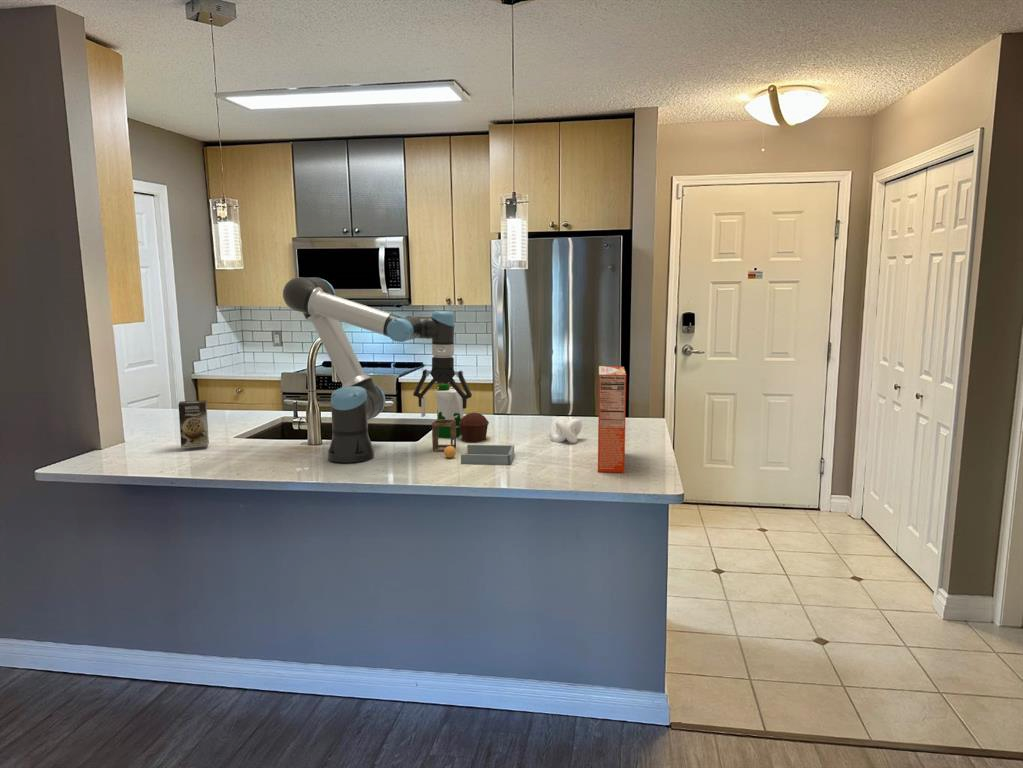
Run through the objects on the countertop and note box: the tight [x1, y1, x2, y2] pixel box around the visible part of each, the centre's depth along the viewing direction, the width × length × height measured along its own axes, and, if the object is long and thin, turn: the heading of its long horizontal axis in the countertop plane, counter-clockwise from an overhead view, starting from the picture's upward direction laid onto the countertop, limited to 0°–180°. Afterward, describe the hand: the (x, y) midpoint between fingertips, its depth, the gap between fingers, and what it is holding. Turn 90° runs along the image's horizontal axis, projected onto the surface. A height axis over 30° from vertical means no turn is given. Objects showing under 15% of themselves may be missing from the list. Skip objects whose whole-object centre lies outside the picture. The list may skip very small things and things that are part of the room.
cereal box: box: [597, 365, 627, 473], centre depth 215 cm, size 23×8×30 cm, turn 173°
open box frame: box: [431, 418, 457, 453], centre depth 236 cm, size 7×7×10 cm
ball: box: [443, 446, 457, 459], centre depth 224 cm, size 4×4×4 cm
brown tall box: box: [178, 400, 210, 449], centre depth 244 cm, size 9×6×16 cm
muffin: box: [459, 412, 490, 443], centre depth 251 cm, size 12×11×10 cm
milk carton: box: [435, 383, 463, 439], centre depth 256 cm, size 9×9×20 cm
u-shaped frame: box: [460, 444, 515, 466], centre depth 223 cm, size 16×14×3 cm
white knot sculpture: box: [549, 416, 583, 444], centre depth 247 cm, size 11×12×9 cm
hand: (442, 417), depth 235 cm, fingers open, 13 cm apart
